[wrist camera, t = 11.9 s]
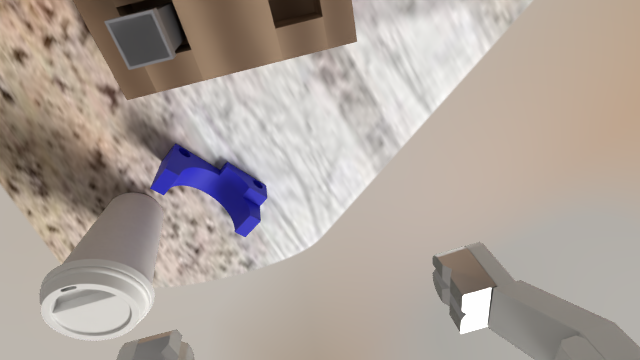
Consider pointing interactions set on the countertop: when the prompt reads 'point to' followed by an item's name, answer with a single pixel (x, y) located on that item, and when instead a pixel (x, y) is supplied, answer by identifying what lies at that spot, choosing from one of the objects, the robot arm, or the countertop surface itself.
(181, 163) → the cable clip
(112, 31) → the plug
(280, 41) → the socket block
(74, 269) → the coffee cup
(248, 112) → the countertop surface
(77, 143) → the countertop surface
